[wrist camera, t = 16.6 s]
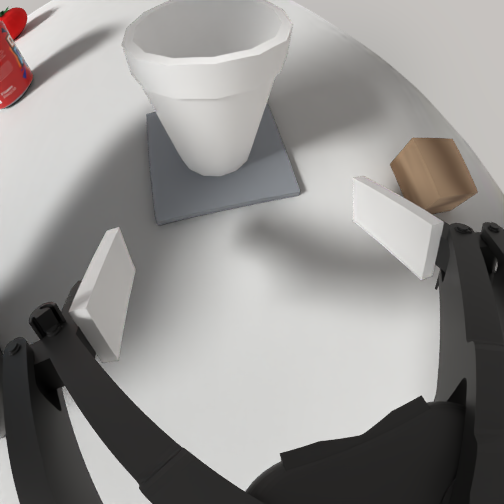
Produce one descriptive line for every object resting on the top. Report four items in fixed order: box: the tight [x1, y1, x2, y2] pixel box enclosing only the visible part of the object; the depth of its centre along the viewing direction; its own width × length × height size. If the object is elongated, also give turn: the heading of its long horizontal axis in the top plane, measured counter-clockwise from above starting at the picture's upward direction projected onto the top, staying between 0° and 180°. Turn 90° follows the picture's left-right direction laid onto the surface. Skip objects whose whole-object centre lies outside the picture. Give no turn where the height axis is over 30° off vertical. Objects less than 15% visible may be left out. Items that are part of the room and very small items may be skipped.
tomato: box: [0, 8, 27, 40], centre depth 29 cm, size 10×10×10 cm
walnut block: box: [390, 138, 478, 214], centre depth 23 cm, size 6×6×5 cm
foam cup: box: [122, 0, 293, 176], centre depth 18 cm, size 10×9×13 cm
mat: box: [146, 103, 300, 225], centre depth 25 cm, size 12×12×1 cm
